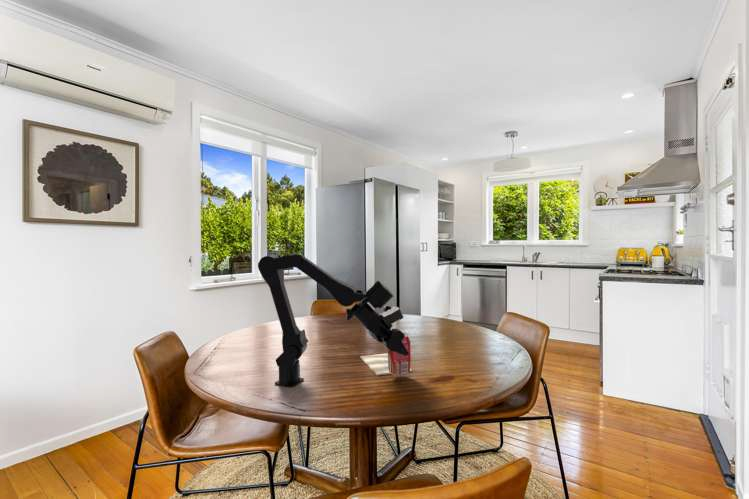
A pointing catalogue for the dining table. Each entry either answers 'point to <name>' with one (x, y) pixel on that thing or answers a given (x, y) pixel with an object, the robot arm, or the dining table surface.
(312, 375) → the dining table surface
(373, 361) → the board
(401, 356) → the soda can
